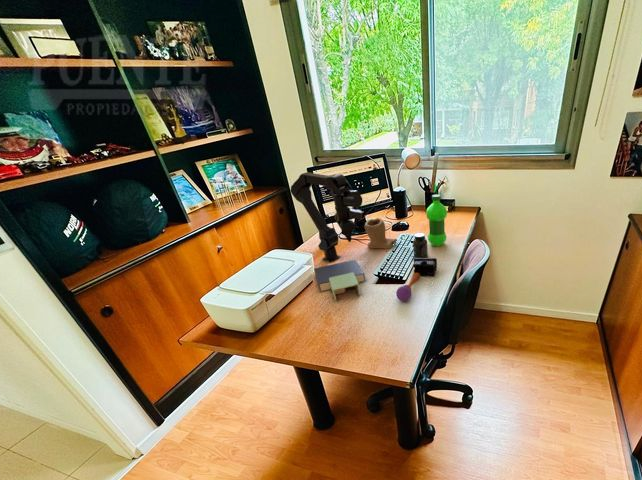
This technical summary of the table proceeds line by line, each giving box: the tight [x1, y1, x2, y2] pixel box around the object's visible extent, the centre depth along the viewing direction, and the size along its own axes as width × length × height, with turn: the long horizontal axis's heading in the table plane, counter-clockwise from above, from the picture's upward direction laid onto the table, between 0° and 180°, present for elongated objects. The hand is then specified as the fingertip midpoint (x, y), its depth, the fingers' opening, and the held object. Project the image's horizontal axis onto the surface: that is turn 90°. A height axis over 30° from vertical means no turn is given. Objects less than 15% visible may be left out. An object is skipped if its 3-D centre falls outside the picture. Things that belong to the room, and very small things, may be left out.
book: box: [313, 259, 366, 293], centre depth 147 cm, size 16×20×4 cm
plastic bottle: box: [425, 194, 448, 247], centre depth 164 cm, size 10×10×25 cm
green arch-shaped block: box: [329, 272, 361, 302], centre depth 136 cm, size 6×11×10 cm
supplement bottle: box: [412, 232, 429, 259], centre depth 156 cm, size 7×7×12 cm
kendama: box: [395, 272, 421, 302], centre depth 133 cm, size 6×6×20 cm
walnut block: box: [345, 286, 356, 293], centre depth 139 cm, size 4×4×4 cm
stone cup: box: [364, 217, 398, 249], centre depth 170 cm, size 15×12×15 cm
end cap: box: [412, 257, 438, 278], centre depth 145 cm, size 10×7×7 cm
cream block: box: [335, 288, 346, 295], centre depth 138 cm, size 4×4×4 cm
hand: (347, 238), depth 153 cm, fingers open, 9 cm apart
